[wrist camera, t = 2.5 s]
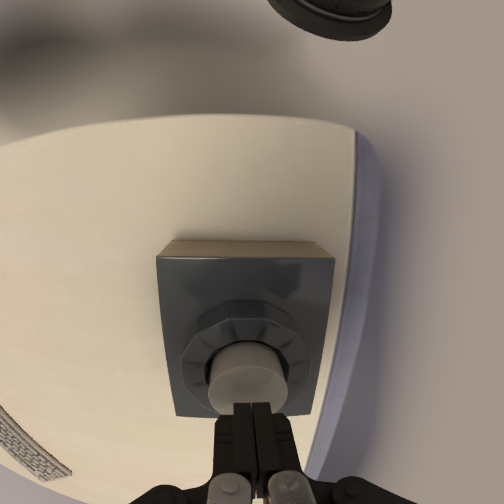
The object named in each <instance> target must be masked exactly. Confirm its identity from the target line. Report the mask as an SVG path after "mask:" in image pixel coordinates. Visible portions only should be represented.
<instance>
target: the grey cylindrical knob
mask: <svg viewBox="0 0 504 504" xmlns="http://www.w3.org/2000/svg"><path fill="white" fill-rule="evenodd" d="M287 395H288V387H287V383H286V379H285V376H284V372H283V368H282V364H281V361H280V359H279V357H278V355H277V354H276V353H275V352H274V351H273V350H272V349H271V348H269V347H267V346H266V345H263V344H260V343H257V342H238V343H234V344H231V345H229V346H227V347H225V348H223V349H222V350H221V351H219V352H218V353H217V354H216V356H215V357H214V359H213V361H212V363H211V369H210V379H209V390H208V397H209V400H210V403H211V405H212V406H213V408H214V409H215V410H216V411H217V412H219V413H220V414H221V415H233V403H251V409H252V402H270V406H271V411H272V414H273V413H276V412H277V411H278V410H279V409H280V408H281V407H282V406H283V405H284V403H285V401H286V399H287Z"/></svg>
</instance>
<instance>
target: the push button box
mask: <svg viewBox="0 0 504 504" xmlns="http://www.w3.org/2000/svg"><path fill="white" fill-rule="evenodd" d="M156 266H157V280H158V292H159V303H160V313H161V322H162V331H163V339H164V346H165V353H166V360H167V367H168V373H169V379H170V385H171V391H172V397H173V402H174V407H175V412H176V416H182V417H198V418H219V416H220V415H221V414H220V413H219V412H217V411H216V410H215V409H214V408H213V406H212V405H211V403H210V400H209V397H208V390H209V379H210V369H211V363H212V361H213V359H214V357H215V356H216V354H217V353H218V352H219V351H221V350H222V349H223V348H225V347H227V346H229V345H231V344H234V343H238V342H257V343H260V344H263V345H266V346H267V347H269V348H271V349H272V350H273V351H274V352H275V353H276V354H277V355H278V357H279V359H280V361H281V364H282V368H283V372H284V376H285V379H286V383H287V387H288V395H287V399H286V401H285V403H284V405H283V406H282V407H281V408H280V409H279V410H278V411H277V412H276V413H283V414H284V415H285V416H298V415H308V414H310V413H311V409H312V404H313V400H314V395H315V390H316V385H317V380H318V375H319V369H320V364H321V358H322V353H323V347H324V341H325V335H326V328H327V322H328V315H329V308H330V300H331V292H332V284H333V276H334V267H335V258H334V257H333V256H332V255H330V254H329V253H328V252H327V251H325V250H324V249H323V248H322V247H320V246H319V245H318V244H317V243H315V242H294V241H224V240H172V241H171V242H170V243H169V244H168V245H167V246H166V247H165V248H164V249H163V250H162V251H161V252H160V253H159V254H158V255H157V256H156Z"/></svg>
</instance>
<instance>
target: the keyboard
mask: <svg viewBox="0 0 504 504" xmlns="http://www.w3.org/2000/svg"><path fill="white" fill-rule="evenodd" d="M0 446H1V447H2V448H3V449H4V450H5V451H7V452H8V453H9V454H10V455H11V456H12V457H13V458H14V459H15V460H16V461H17V462H19V463H20V464H21V465H22V466H23V467H24V468H26V469H27V470H28V471H29V472H30V473H32V474H33V475H34V476H35V477H37V478H38V479H39V480H41V481H42V482H48V481H52V480H56V479H60V478H64V477H68V476H71V475H72V472H71V471H70V470H69V469H67V468H66V467H65V466H63V465H62V464H61V463H60V462H58V461H57V460H56V459H55V458H53V457H52V456H51V455H50V454H49V453H47V452H46V451H45V450H44V449H43V448H42V447H40V446H39V445H38V444H37V443H36V442H35V441H34V440H33V439H32V438H31V437H29V436H28V435H27V434H26V433H25V432H24V431H23V430H22V429H21V428H20V427H19V426H18V425H17V424H16V423H15V422H14V421H13V420H12V419H11V418H10V416H9V415H8V414H7V413H6V412H5V411H4V410H3V409H2V408H1V407H0Z"/></svg>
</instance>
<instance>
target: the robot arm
mask: <svg viewBox="0 0 504 504" xmlns="http://www.w3.org/2000/svg"><path fill="white" fill-rule="evenodd" d="M293 1H295V2H296V3H297V4H298V5H300V6H301V7H303V8H304V9H306V10H308V11H310V12H312V13H314V14H316V15H318V16H320V17H323V18H326V19H329V20H333V21H337V22H343V23H361V22H365V21H368V20H370V19H372V18H374V17H375V16H376V15H377V14H378V13H379V12H380V11H381V10H382V8H383V6H384V5H385V4H386V3H387V2H388V1H389V0H293ZM214 434H215V435H214V457H213V474H212V477H211V478H210V480H209V481H208V482H207V483H206V484H204V485H202V486H200V487H196V488H192V489H186V490H181V489H179V488H178V487H175V486H172V485H159V486H156V487H154V488H152V489H151V490H149V491H148V492H146V493H145V494H143V495H142V496H140V497H139V498H137V499H135V500H134V501H132V502H131V503H129V504H252V500H253V499H255V495H256V494H257V498H263V502H264V504H417V503H414V502H412V501H409V500H407V499H404V498H402V497H400V496H398V495H396V494H393V493H391V492H389V491H387V490H385V489H382V488H381V487H379V486H377V485H374V484H372V483H370V482H368V481H366V480H364V479H363V478H359V477H355V476H350V477H345V478H342V479H340V480H339V481H338V482H337V483H331V482H321V481H316V480H313V479H311V478H309V477H307V476H306V475H305V474H304V473H303V471H302V469H301V466H300V462H299V457H298V453H297V449H296V445H295V441H294V437H293V433H292V428H291V424H290V421H289V420H288V418H287V417H286V416H285V415H284V414H283V413H273V414H272V411H271V406H270V402H252V409H251V403H233V415H220V416H219V418H218V419H217V421H216V422H215V432H214Z"/></svg>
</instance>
